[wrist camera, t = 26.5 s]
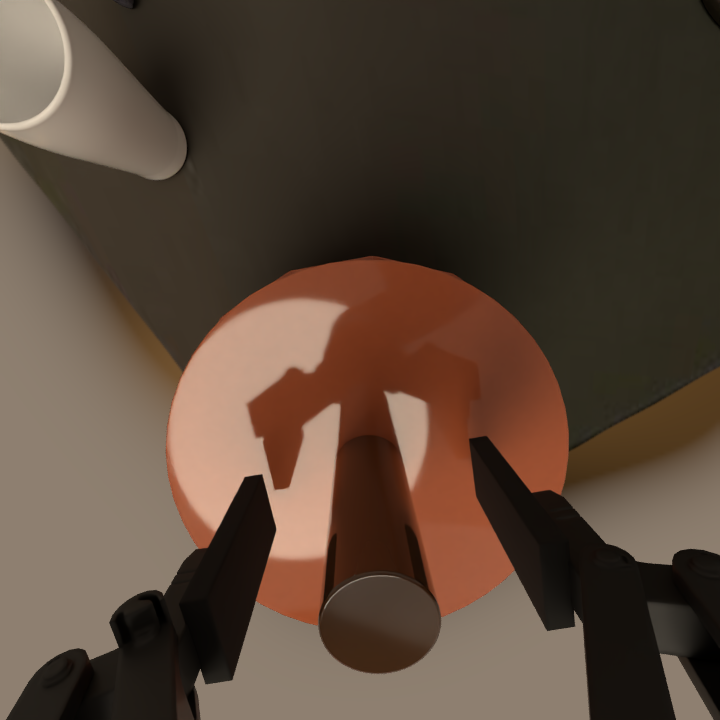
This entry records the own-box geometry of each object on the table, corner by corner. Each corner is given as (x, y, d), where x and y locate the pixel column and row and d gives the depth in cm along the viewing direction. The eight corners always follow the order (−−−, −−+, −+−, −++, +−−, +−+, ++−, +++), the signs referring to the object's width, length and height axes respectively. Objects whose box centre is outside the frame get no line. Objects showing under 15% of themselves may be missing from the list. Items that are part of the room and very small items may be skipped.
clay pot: (449, 245, 34) (763, 174, 8) (474, 444, 38) (733, 827, 12) (236, 284, 35) (-127, 338, 9) (283, 476, 39) (137, 911, 13)
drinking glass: (138, 204, 33) (-31, 154, 19) (97, 119, 32) (-121, -7, 17) (213, 172, 33) (100, 96, 18) (175, 84, 31) (18, -75, 17)
